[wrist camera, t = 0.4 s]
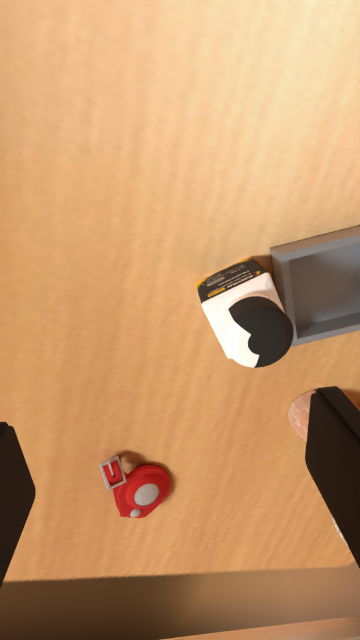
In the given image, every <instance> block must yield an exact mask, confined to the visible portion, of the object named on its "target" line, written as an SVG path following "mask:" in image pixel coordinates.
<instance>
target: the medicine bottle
mask: <svg viewBox="0 0 360 640" xmlns="http://www.w3.org/2000/svg"><path fill="white" fill-rule="evenodd" d="M195 286H196V290H197V293H198V296H199V299H200V302H201V305H202V308H203V310H204V312H205V314H206V316H207V318H208V320H209V322H210V324H211V326H212V328H213V330H214V332H215V334H216V336H217V338H218V340H219V342H220V344H221V346H222V348H223V350H224V352H225V354H226V356H227V358H228V359H232V358H233V359H234V360H235V361H236V362H237V363H239V364H241V365H243V366H247V367H253V368H258V367H264V366H268V365H271V364H273V363H275V362H276V361H278V360H279V359H281V358H282V357H283V356H284V355H285V354H286V353H287V351H288V350H289V348H290V346H291V344H292V341H293V336H294V330H293V325H292V323H291V320H290V319H289V317H288V316H287V315H286V314H285V312H284V310H283V307H282V305H281V302H280V299H279V297H278V294H277V292H276V289H275V286H274V284H273V281H272V279H271V276H270V274H269V273H268V272H267V271H266V270H265V269H264V268H263V267H261V266H260V265H259V264H258V263H257V262H256V261H255V260H254V259H253V258H251V257H248V258H246V259H244V260H242V261H240V262H238V263H236V264H234V265H232V266H230V267H228V268H225V269H223V270H221V271H219V272H217V273H215V274H213V275H211V276H209V277H207V278H205V279H203V280H201V281H199V282H197V283H196V284H195Z"/></svg>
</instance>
